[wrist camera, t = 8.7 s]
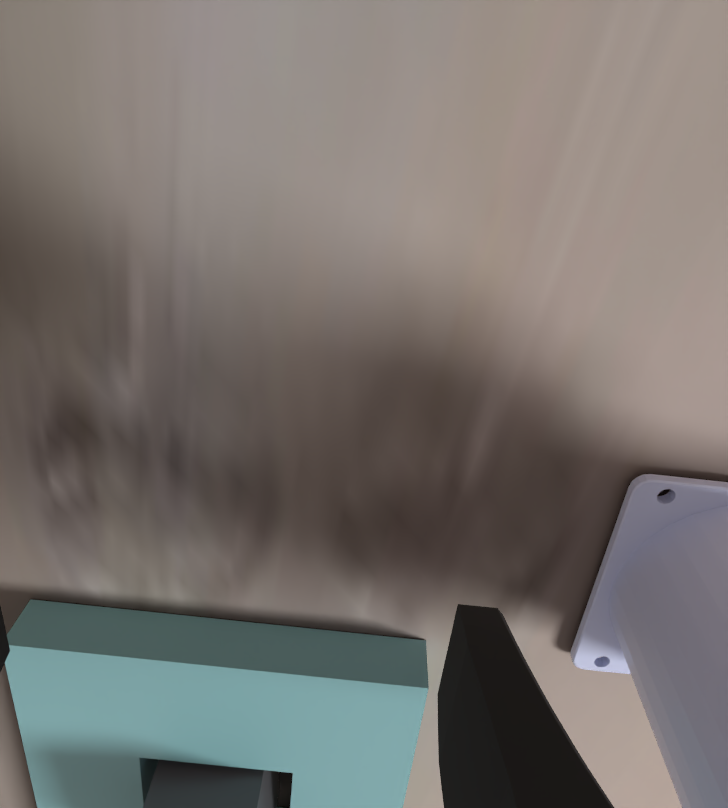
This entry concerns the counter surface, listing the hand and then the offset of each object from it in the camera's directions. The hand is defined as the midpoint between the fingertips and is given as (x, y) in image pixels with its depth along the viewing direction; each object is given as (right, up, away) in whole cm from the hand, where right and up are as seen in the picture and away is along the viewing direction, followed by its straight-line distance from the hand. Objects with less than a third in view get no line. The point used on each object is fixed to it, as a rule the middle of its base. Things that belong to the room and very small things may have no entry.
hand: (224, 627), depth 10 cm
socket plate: (-3, -11, +17) cm, 20 cm away
